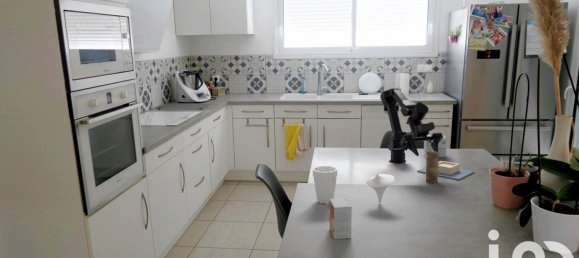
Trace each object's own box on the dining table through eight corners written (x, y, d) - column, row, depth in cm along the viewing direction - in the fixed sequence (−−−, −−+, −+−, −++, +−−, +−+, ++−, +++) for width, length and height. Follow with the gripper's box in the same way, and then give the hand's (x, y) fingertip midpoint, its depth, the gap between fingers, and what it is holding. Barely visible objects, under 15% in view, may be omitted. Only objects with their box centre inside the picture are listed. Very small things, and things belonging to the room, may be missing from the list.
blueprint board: (417, 171, 201) (417, 163, 200) (433, 165, 212) (434, 157, 211) (458, 180, 187) (459, 171, 186) (474, 172, 198) (474, 164, 197)
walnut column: (423, 181, 186) (424, 152, 184) (429, 179, 190) (430, 150, 187) (434, 183, 183) (435, 154, 180) (439, 181, 186) (440, 152, 184)
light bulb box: (443, 154, 233) (443, 134, 231) (446, 157, 227) (447, 137, 225) (423, 154, 234) (423, 135, 232) (425, 157, 228) (426, 137, 226)
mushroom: (379, 210, 154) (380, 179, 152) (360, 202, 163) (360, 172, 161) (400, 204, 159) (401, 174, 157) (380, 196, 168) (380, 167, 166)
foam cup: (339, 198, 168) (339, 166, 165) (334, 206, 159) (334, 173, 157) (316, 196, 171) (316, 165, 169) (310, 204, 162) (309, 171, 160)
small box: (329, 229, 140) (329, 198, 138) (346, 228, 140) (346, 197, 138) (333, 239, 132) (333, 207, 130) (351, 238, 132) (351, 206, 130)
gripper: (403, 117, 189) (414, 146, 180) (441, 115, 192) (454, 143, 183) (395, 131, 198) (405, 160, 189) (432, 129, 201) (444, 157, 192)
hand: (427, 155), depth 188 cm, fingers open, 9 cm apart
